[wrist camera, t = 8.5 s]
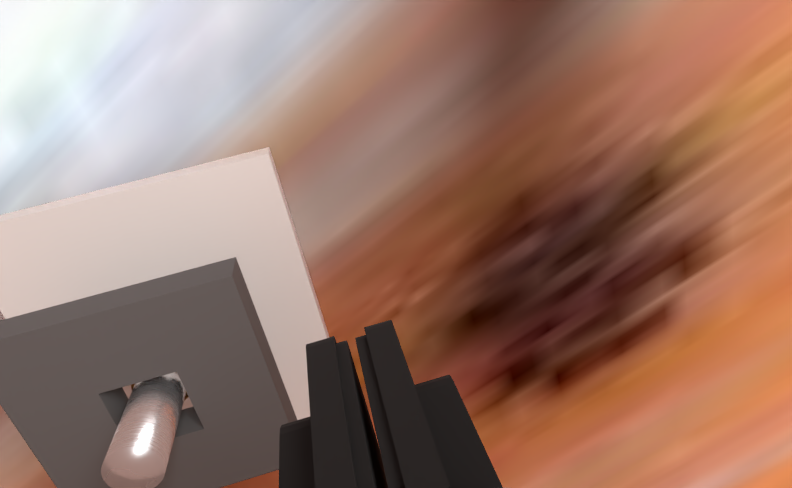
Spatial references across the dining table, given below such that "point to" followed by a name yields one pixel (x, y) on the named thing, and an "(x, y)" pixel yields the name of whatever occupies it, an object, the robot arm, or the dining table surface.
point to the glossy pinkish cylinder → (145, 434)
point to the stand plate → (172, 250)
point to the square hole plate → (148, 377)
